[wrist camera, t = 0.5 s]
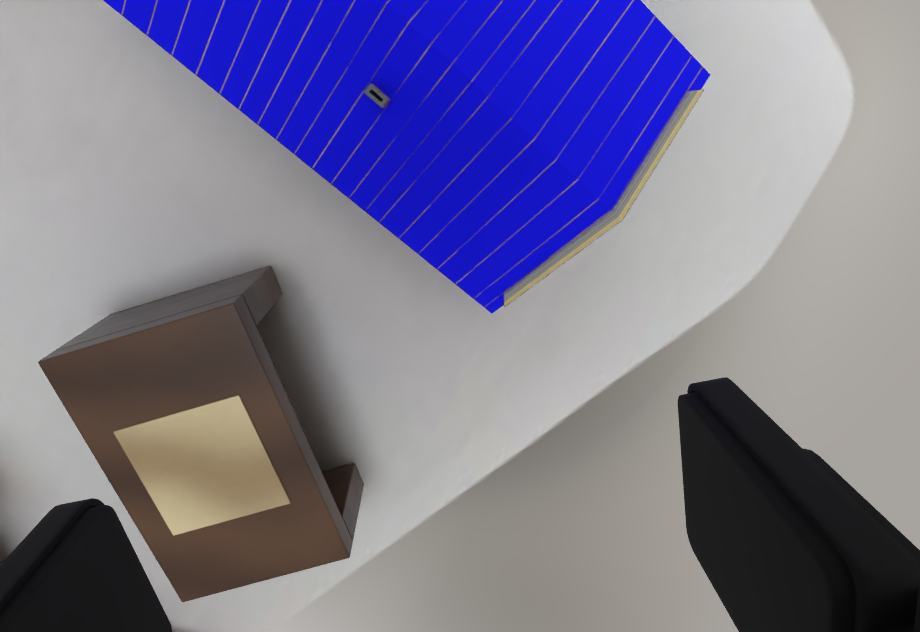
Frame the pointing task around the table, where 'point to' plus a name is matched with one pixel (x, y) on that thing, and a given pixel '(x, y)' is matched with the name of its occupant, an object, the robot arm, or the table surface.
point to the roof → (453, 113)
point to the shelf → (205, 438)
